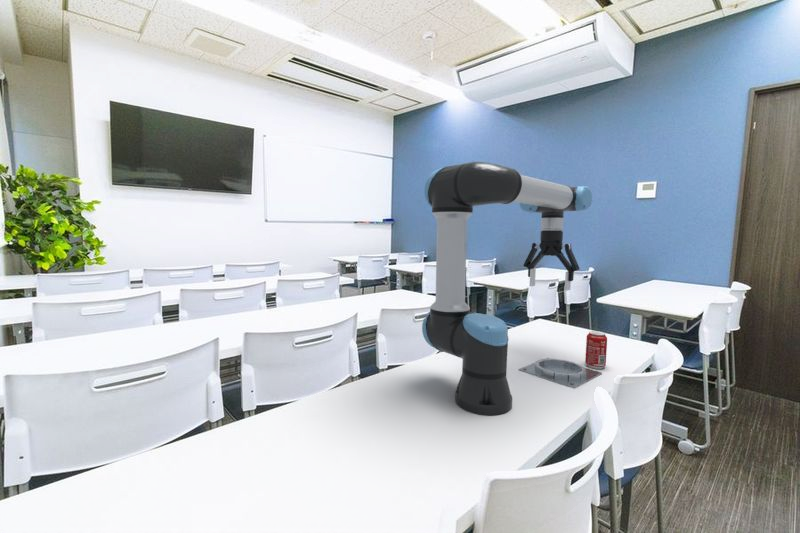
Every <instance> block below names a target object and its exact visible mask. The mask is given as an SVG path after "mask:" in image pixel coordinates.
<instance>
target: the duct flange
mask: <svg viewBox="0 0 800 533" xmlns="http://www.w3.org/2000/svg"><path fill="white" fill-rule="evenodd" d="M517 369H518V371H519V372H522V373H526V374H529V375H532V376H533V377H534V376H535V377H537V378H540V379H544V380H546V381H550V382H553V383H557V384H559V385H563V386H565V387H569V388H572V389H576V388H578V387H581V386H582V385H584V384H586V383H588V382H590V381H591V380H593V379H595V378H597V377H599V376H601V375H603V372H602V371H599V370H594V369H592V368H591V369H590V368H586V367H585V366H583V365H581V364H579V363H577V362H573V361H570V360H566V359H558V358H549V357H547V358H542V359H539V360H536V361H535V362H534V363H531V364H528V365H526V366H523V367H521V368H517Z"/></svg>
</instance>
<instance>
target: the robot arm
mask: <svg viewBox="0 0 800 533" xmlns="http://www.w3.org/2000/svg"><path fill="white" fill-rule="evenodd" d="M423 191H424V193H423V194H424V198H425V200H426V201H427V204H428V205H429V206H430V207H431V215H433V216H434V217H435V219H436V257H435V258H436V260H435V261H436V262H435V263H436V264H435V268H436V270H435V301H434V302H433V303H431V305H430V308H429V309H430V310H429V311H428V312H427V313H426V314H425V318H423V320H422V326H421V331H422V335H423V336H422V337H423V338H424V340H425V342H426V343H427V344H428V345H429V346H430V347H432V348H433V349H436V350H437V351H440V352H443V353H445V354H448V355H451V356H454V357H457V358H460V359H462V370H461V375H460V378H459V381H458V384H457V386H456V389H455V393H454V403H455V404H456V405H457V407H459V408H460V409H462V410H464V411H466V412H469V413H472V414H476V415H482V416H499V415H503V414H506V413H508V412H509V411H511V410H512V408H513V396H512V394H511V389H510V385H509V382H508V377H507V368H508V367H507V366H508V349H509V348H508V346H509V335H508V334H509V332H508V331H509V330H508V325H507V323H506V322H505V321H504V320H503V319H501V318H499V317H498V316H494V315H490V314H484V313H478V312H474V313H471V312H470V311H471V307H470V306H469V305H468V303H466V273H467V272H466V271H467V269H466V268H467V237H468V236H467V235H468V229H467V228H468V220H469V218H470V217H471V216H472V215H473V214H474V213H473V212H474V211H473V210H474V207H477V206H478V207H479V206H485V205H492V204H503V205H509V204H510V205H511V203H518V204H519V207H520V209H521V210H522V211H523V212H527V213H530V214H531V213H537V214H539V213H541V218H540V219H541V220H540V229H541V231H540V240H539V241H540V243H538V242H533V243H532V244H531V249H530V251H529V252H528V255H527V257H526V259H525V260H524V263H523V267H524V268H527V269H528V270H527V276H528V278H529V287H535V286H536V270H537V269H536V268H535V267H536V266H537V264H538V263H539V262H540V261H541V260H542V259H543V258H544V257H545V256H551V257H556V258H558V260H559V261H560V262H561V264H562V265H563V267H564V268H565V269H566V270H567V271H565V277H564V278H565V281H564V291H565V292H567V291H571V284H572V283H571V282H573V281H574V275H575V272H577V271H579V270H580V266H579V264H578V261H577V259H576V257H575V254H574V252H573V250H572V244H571V243H565V244H563V238H564V237H563V236H564V232H563V229H564V215H565V214H564V212H580V211H587V210H588V209H589V208H590V207H591V206H592V202H593V193H592V189H591V188H589V187H588V186H586V185H585V186H582V185H581V186H580V185H578V186H570V185H564V184H561V183H556V182H551V181H547V180H543V179H539V178H536V177H531V176H527V175H522V174H521V173H520V172H519V171H518V170H517V169H515V168H513V167H508V166H504V165H499V164H495V163H490V162H485V161H470V162H467V163H466V162H465V163H461V164H453V165H449V166H448V165H447V166H446V165H445V166H443V167H441V168H437V169H436V170H434V171H433V172H431V174H430V175H428V177H427V178H426V181H425V184H424V190H423ZM538 249H540V250H539V252H538ZM562 250H563V251H565V254H566V256H567V258H568V259H567V258H566V257H565V255H564V252H562ZM537 252H538V253H537ZM536 254H537V255H536Z"/></svg>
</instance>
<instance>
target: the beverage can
mask: <svg viewBox="0 0 800 533" xmlns="http://www.w3.org/2000/svg"><path fill="white" fill-rule="evenodd" d="M585 340H586V342H585V344H586V345H585V361H584V363H585V365H587V367H588V368H589V369H590V368H591V369H592V370H594V369H595V370H602V369H604V368H605V367H606V366H607V351H608V350H607V348H608V337H607V336H606V333H605V332H603V331H598V330H590V331H588V334H586V339H585Z"/></svg>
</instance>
